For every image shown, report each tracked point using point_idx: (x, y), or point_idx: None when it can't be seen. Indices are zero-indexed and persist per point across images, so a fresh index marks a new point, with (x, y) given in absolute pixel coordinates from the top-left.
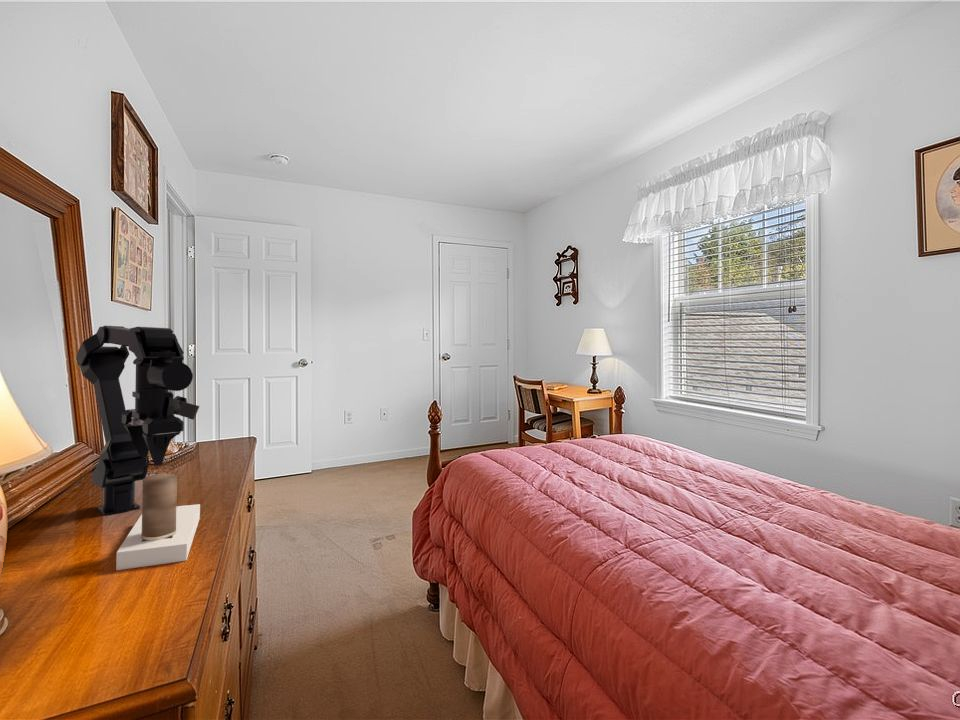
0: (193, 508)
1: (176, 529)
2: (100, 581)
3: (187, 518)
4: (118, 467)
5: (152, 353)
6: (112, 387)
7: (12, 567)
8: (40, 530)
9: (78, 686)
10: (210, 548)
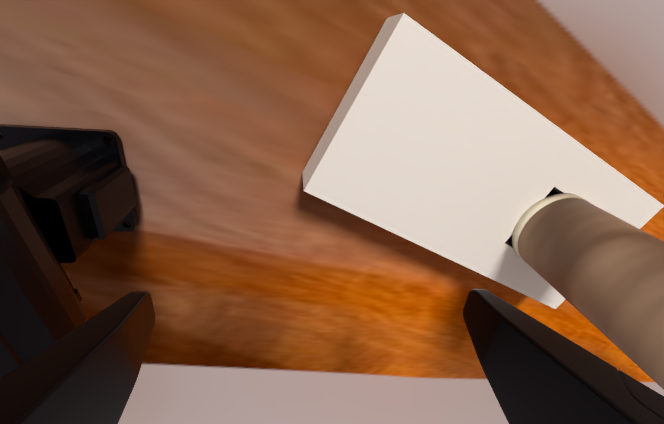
0: (433, 63)
1: (562, 188)
2: (539, 303)
3: (511, 128)
4: (62, 331)
5: None
6: None
7: (360, 373)
8: (169, 336)
9: None
10: (619, 117)
